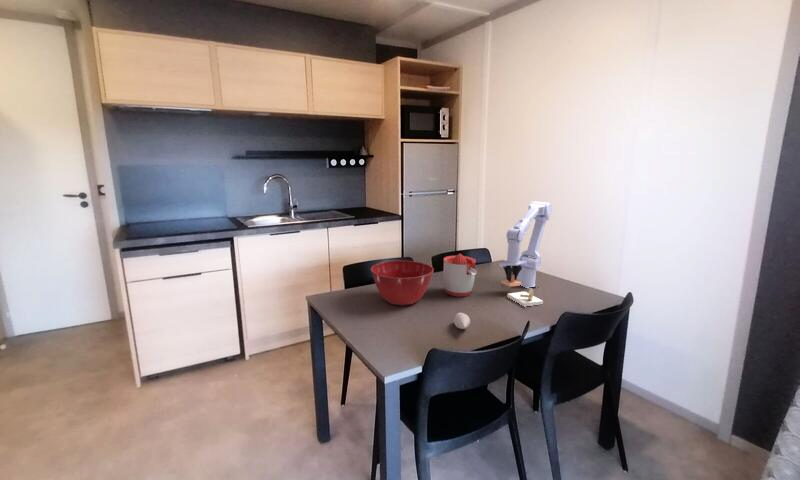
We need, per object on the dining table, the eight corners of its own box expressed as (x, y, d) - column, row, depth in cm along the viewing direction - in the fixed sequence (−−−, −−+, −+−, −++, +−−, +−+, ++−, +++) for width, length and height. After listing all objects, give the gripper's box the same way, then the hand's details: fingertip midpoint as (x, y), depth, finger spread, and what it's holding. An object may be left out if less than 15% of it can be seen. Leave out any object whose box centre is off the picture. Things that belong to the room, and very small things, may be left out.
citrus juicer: (462, 302, 177) (465, 260, 173) (435, 292, 190) (436, 252, 185) (483, 295, 187) (486, 255, 183) (456, 285, 200) (458, 248, 195)
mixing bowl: (357, 299, 177) (357, 267, 174) (400, 285, 198) (400, 256, 195) (403, 317, 159) (404, 282, 155) (444, 300, 179) (446, 268, 176)
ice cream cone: (463, 338, 141) (458, 327, 156) (476, 328, 141) (470, 318, 156) (453, 325, 141) (449, 315, 156) (466, 315, 141) (461, 306, 156)
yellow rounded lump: (520, 301, 174) (521, 291, 173) (519, 296, 179) (520, 287, 178) (533, 302, 173) (534, 292, 172) (531, 298, 178) (532, 288, 177)
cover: (501, 282, 191) (501, 273, 190) (513, 281, 193) (513, 272, 192) (509, 286, 184) (510, 277, 183) (521, 285, 187) (522, 275, 186)
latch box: (507, 297, 184) (507, 293, 184) (524, 295, 188) (524, 291, 187) (524, 307, 172) (524, 303, 172) (542, 305, 176) (543, 300, 175)
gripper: (505, 256, 180) (503, 284, 182) (531, 254, 184) (528, 281, 187) (497, 252, 186) (495, 279, 189) (522, 250, 191) (519, 277, 194)
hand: (511, 280), depth 189 cm, fingers closed on cover, 3 cm apart
